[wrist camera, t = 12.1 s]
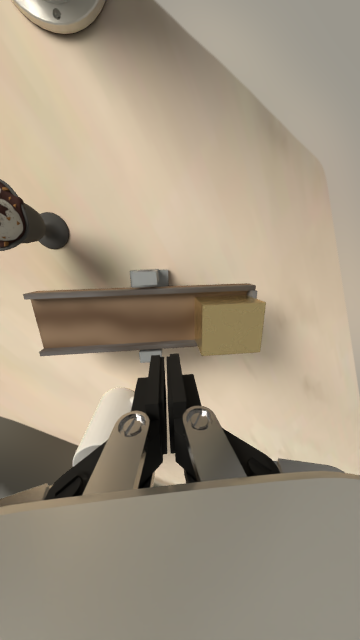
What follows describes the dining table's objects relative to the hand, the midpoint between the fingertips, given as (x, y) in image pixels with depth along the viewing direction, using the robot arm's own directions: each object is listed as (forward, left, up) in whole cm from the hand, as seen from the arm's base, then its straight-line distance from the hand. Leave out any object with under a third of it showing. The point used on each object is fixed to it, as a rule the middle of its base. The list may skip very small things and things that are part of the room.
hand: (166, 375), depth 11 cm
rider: (+1, +7, -14) cm, 16 cm away
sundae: (-11, -16, -22) cm, 30 cm away
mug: (+19, -8, -22) cm, 31 cm away
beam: (+1, -2, -19) cm, 19 cm away
